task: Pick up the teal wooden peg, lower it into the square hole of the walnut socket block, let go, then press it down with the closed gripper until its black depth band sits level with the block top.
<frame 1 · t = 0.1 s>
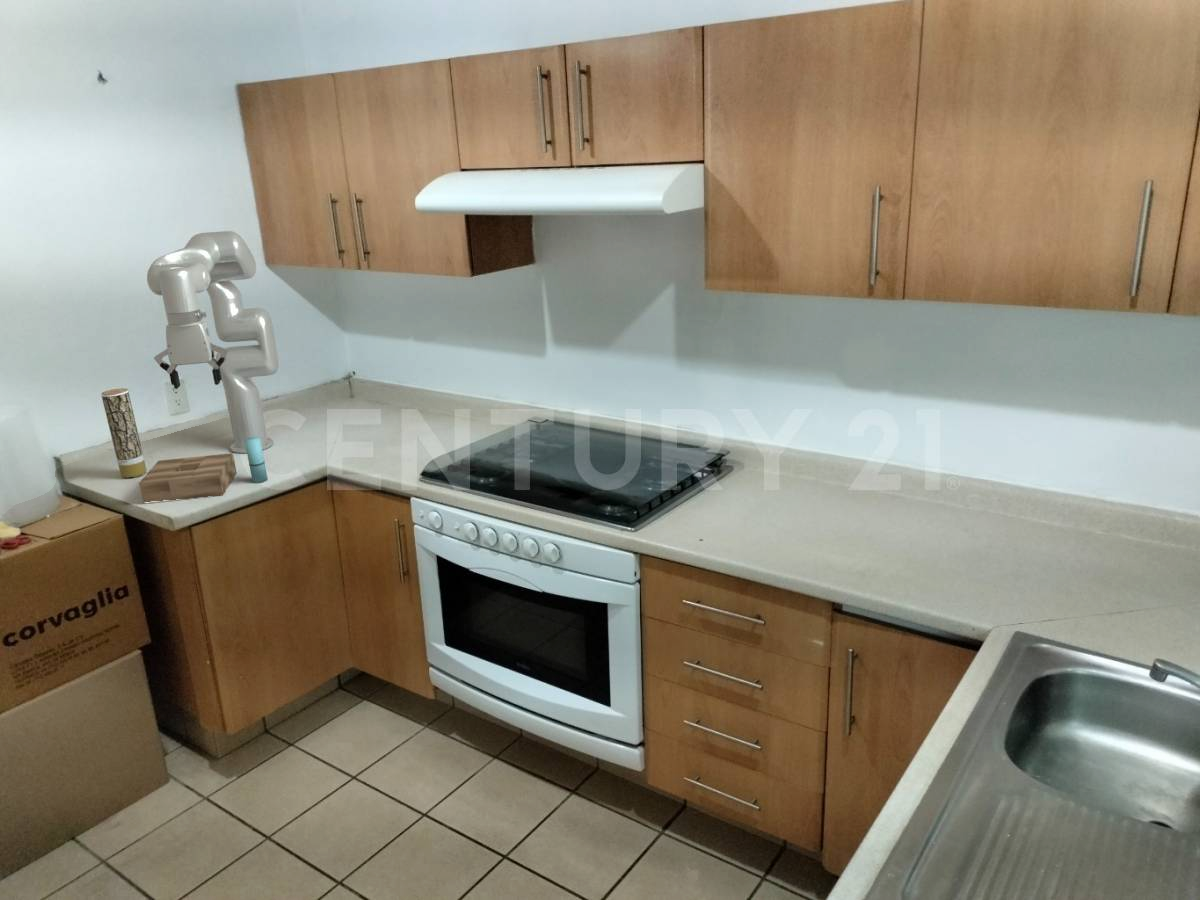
hand: (197, 385, 229), 31 cm above the table, tool pointing down, fingers open, 9 cm apart
peg: (260, 480, 251), on the table
socket block: (192, 487, 248), on the table
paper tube: (134, 475, 261), on the table
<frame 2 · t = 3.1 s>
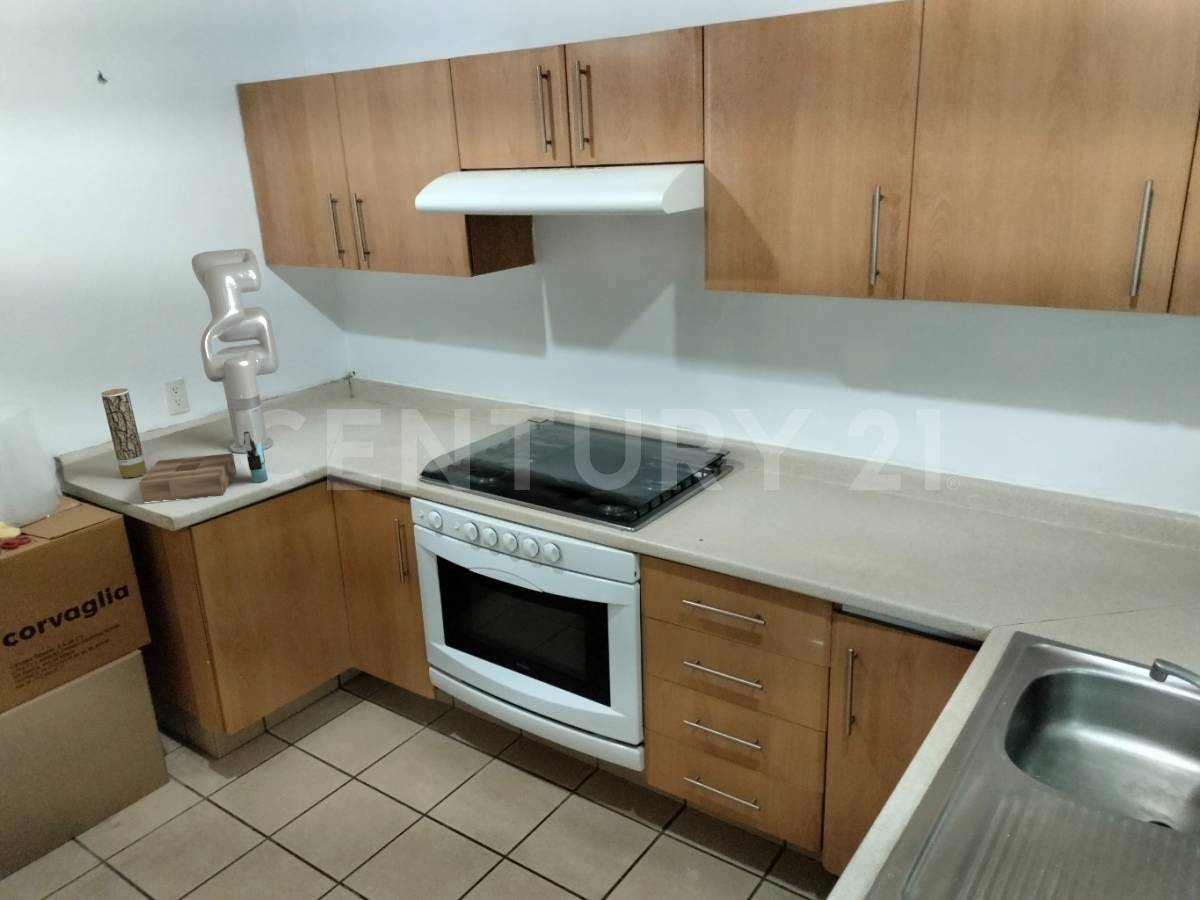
hand: (257, 465, 250), 4 cm above the table, tool pointing down, fingers closed on peg, 4 cm apart
peg: (260, 480, 251), on the table, touching gripper
everything else where it was.
when the fingers open (8 cm above the table, at t = 9.5 s): peg drops 2 cm, resting on socket block.
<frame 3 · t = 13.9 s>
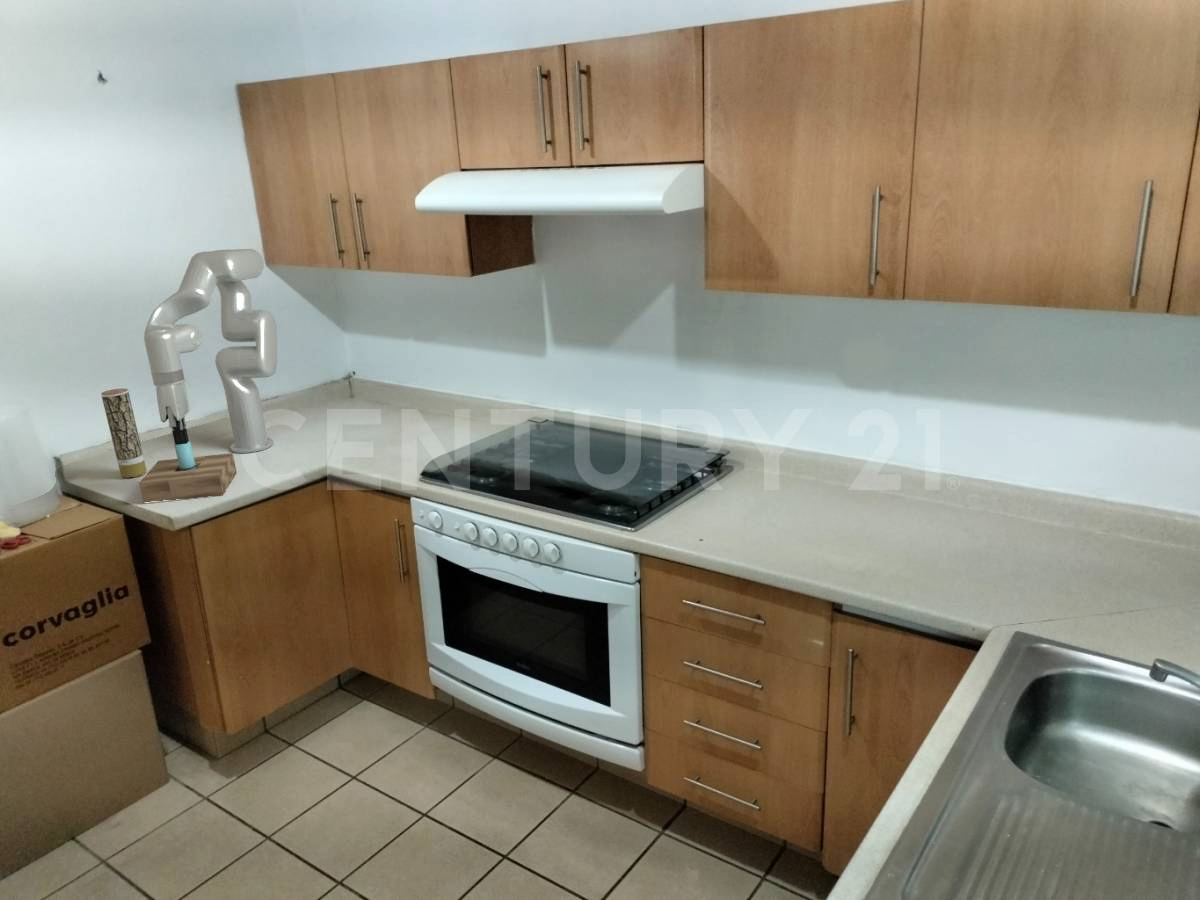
hand: (182, 443, 244), 13 cm above the table, tool pointing down, fingers closed
peg: (191, 484, 248), point 1 cm above the table, touching gripper, socket block
everything else where it was.
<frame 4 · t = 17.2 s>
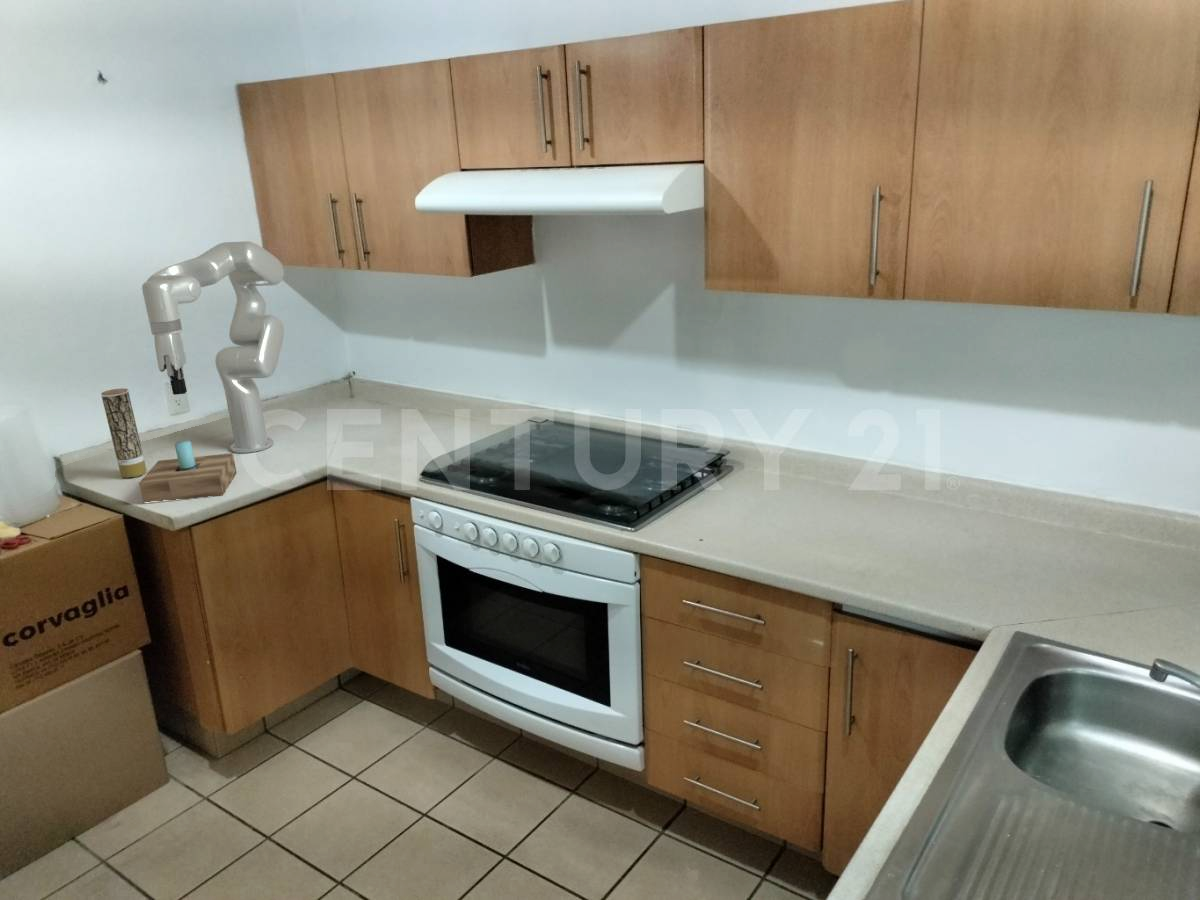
hand: (180, 393, 247), 25 cm above the table, tool pointing down, fingers closed
peg: (191, 484, 248), point 1 cm above the table, touching socket block
everything else where it was.
at the end: peg 0.1 cm off-centre on the socket block, point 1.0 cm above the socket block's base; peg tilted 0°; the gripper is holding nothing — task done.
